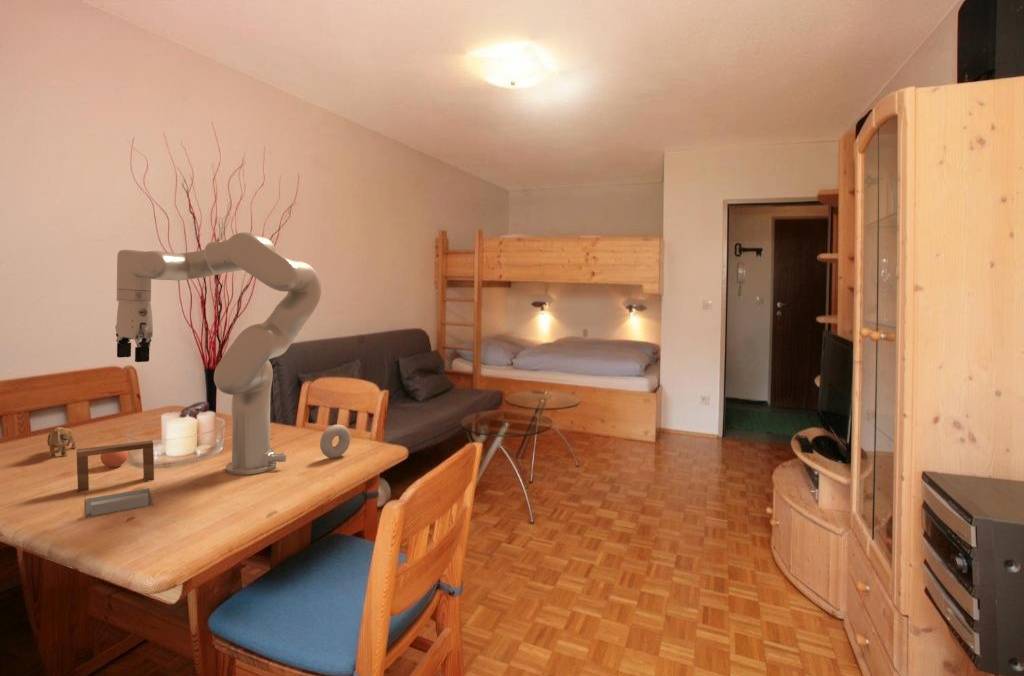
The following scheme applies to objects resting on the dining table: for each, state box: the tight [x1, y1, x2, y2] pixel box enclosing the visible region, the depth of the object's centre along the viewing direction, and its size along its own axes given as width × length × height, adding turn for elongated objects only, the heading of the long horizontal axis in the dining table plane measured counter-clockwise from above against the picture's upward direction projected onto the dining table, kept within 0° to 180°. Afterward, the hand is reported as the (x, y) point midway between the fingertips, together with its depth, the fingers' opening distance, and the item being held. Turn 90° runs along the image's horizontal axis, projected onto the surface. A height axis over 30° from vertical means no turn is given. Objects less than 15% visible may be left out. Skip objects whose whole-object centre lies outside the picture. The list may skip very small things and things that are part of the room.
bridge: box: [76, 439, 155, 493], centre depth 131 cm, size 3×15×10 cm, turn 128°
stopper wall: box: [91, 493, 149, 517], centre depth 116 cm, size 2×10×2 cm, turn 129°
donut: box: [319, 424, 351, 459], centre depth 157 cm, size 10×4×10 cm, turn 146°
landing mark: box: [85, 488, 154, 519], centre depth 120 cm, size 12×12×1 cm
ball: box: [100, 451, 129, 468], centre depth 143 cm, size 6×6×6 cm
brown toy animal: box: [46, 426, 77, 459], centre depth 152 cm, size 15×5×9 cm, turn 34°
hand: (132, 359), depth 143 cm, fingers open, 9 cm apart
